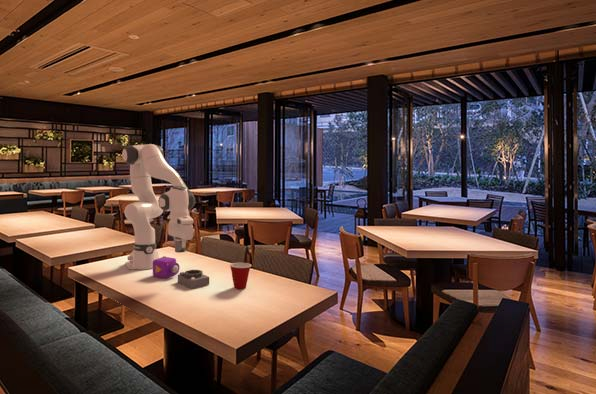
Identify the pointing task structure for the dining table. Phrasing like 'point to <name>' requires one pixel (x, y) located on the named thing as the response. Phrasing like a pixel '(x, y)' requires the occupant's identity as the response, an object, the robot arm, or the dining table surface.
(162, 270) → the purple box with triangle
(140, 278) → the dining table surface
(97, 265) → the dining table surface
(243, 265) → the plastic cup
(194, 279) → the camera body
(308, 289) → the dining table surface
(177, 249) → the lens
